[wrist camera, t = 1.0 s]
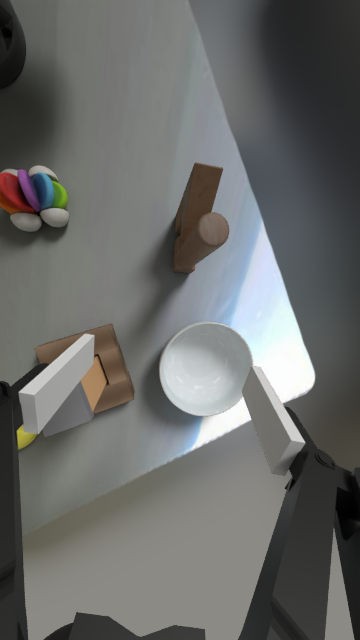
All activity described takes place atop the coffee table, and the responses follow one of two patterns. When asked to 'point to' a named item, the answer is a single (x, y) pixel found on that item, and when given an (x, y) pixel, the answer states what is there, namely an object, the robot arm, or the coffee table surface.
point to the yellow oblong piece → (24, 437)
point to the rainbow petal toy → (33, 198)
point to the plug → (79, 401)
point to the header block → (112, 361)
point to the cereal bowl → (205, 368)
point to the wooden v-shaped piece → (198, 219)
